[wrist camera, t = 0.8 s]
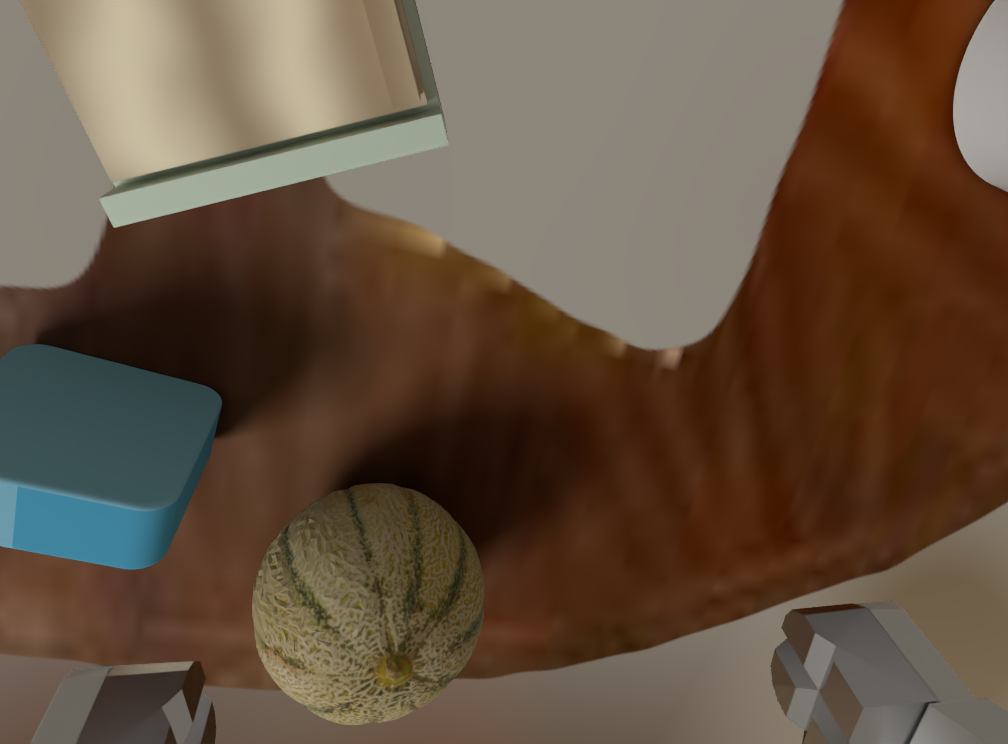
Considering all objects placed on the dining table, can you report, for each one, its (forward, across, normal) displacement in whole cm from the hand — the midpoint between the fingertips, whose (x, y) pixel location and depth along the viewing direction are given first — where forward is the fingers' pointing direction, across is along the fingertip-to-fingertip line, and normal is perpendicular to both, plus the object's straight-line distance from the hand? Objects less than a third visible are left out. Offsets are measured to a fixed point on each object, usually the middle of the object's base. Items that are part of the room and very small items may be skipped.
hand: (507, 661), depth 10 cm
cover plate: (+29, +9, -6) cm, 31 cm away
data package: (+34, +20, +15) cm, 42 cm away
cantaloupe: (+34, +5, +27) cm, 43 cm away
